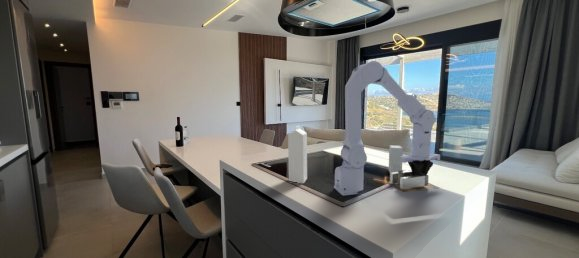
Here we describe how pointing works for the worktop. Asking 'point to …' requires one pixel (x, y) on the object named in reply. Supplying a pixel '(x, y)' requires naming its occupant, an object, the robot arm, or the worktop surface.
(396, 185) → the stand
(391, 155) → the skincare box
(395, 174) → the c link
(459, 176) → the worktop surface
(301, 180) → the milk
